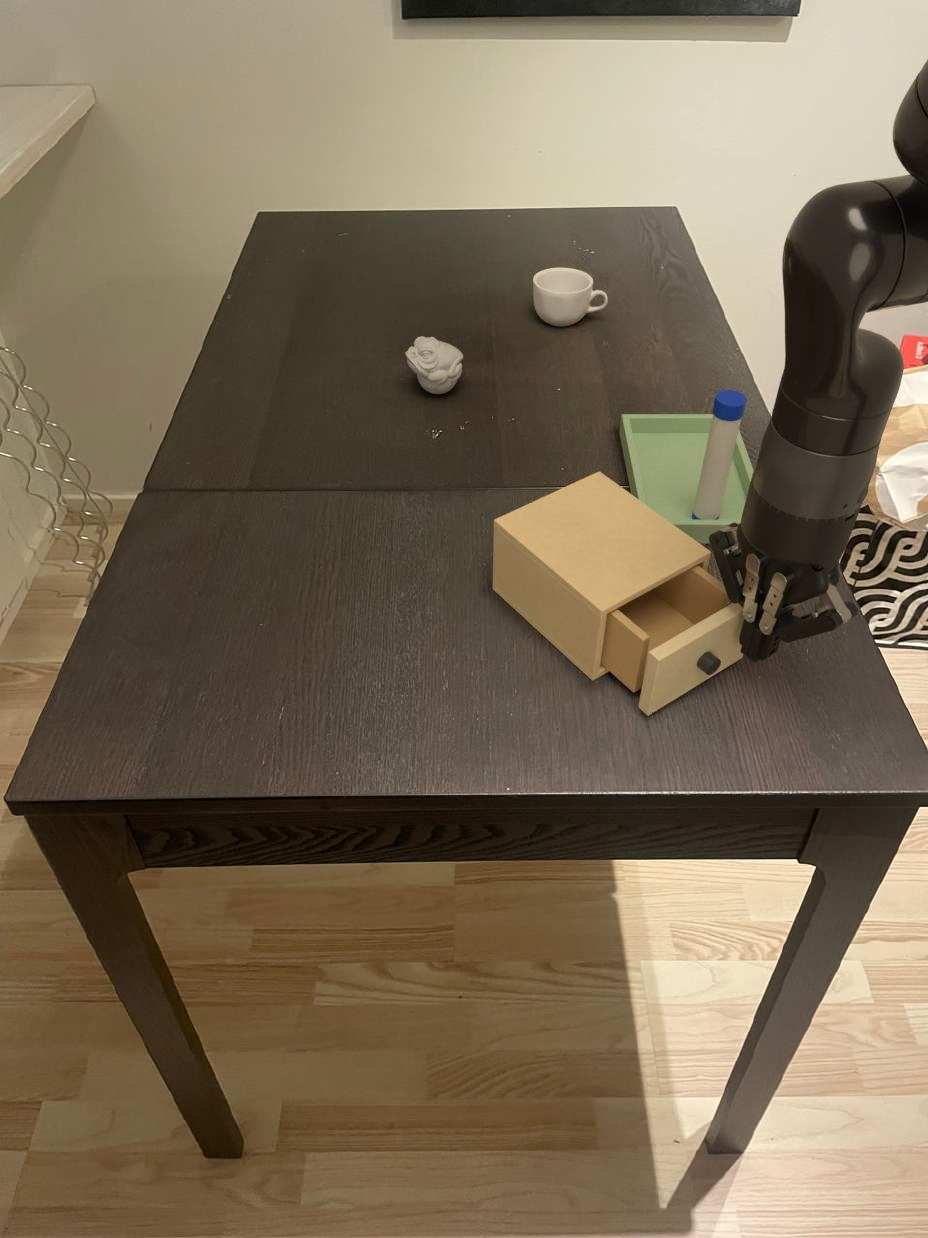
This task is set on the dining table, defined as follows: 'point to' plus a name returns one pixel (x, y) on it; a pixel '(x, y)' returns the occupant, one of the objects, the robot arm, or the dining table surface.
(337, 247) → the dining table surface
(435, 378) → the frog figurine
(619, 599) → the cabinet
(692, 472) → the tray
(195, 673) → the dining table surface
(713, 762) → the dining table surface
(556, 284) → the teacup
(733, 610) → the drawer
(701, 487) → the marker
